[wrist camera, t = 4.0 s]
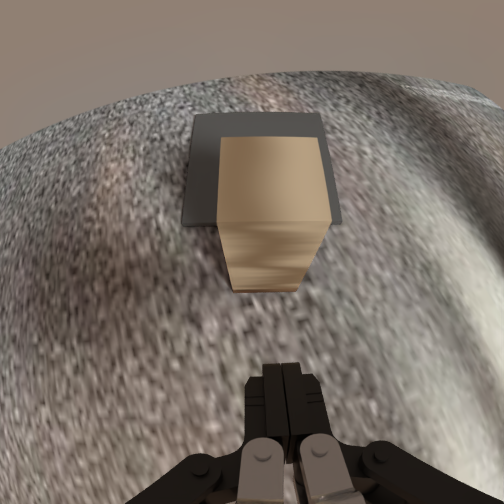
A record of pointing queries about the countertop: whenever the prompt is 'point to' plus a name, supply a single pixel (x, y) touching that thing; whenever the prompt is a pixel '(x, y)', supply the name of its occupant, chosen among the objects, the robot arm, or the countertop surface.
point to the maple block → (271, 210)
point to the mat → (243, 125)
